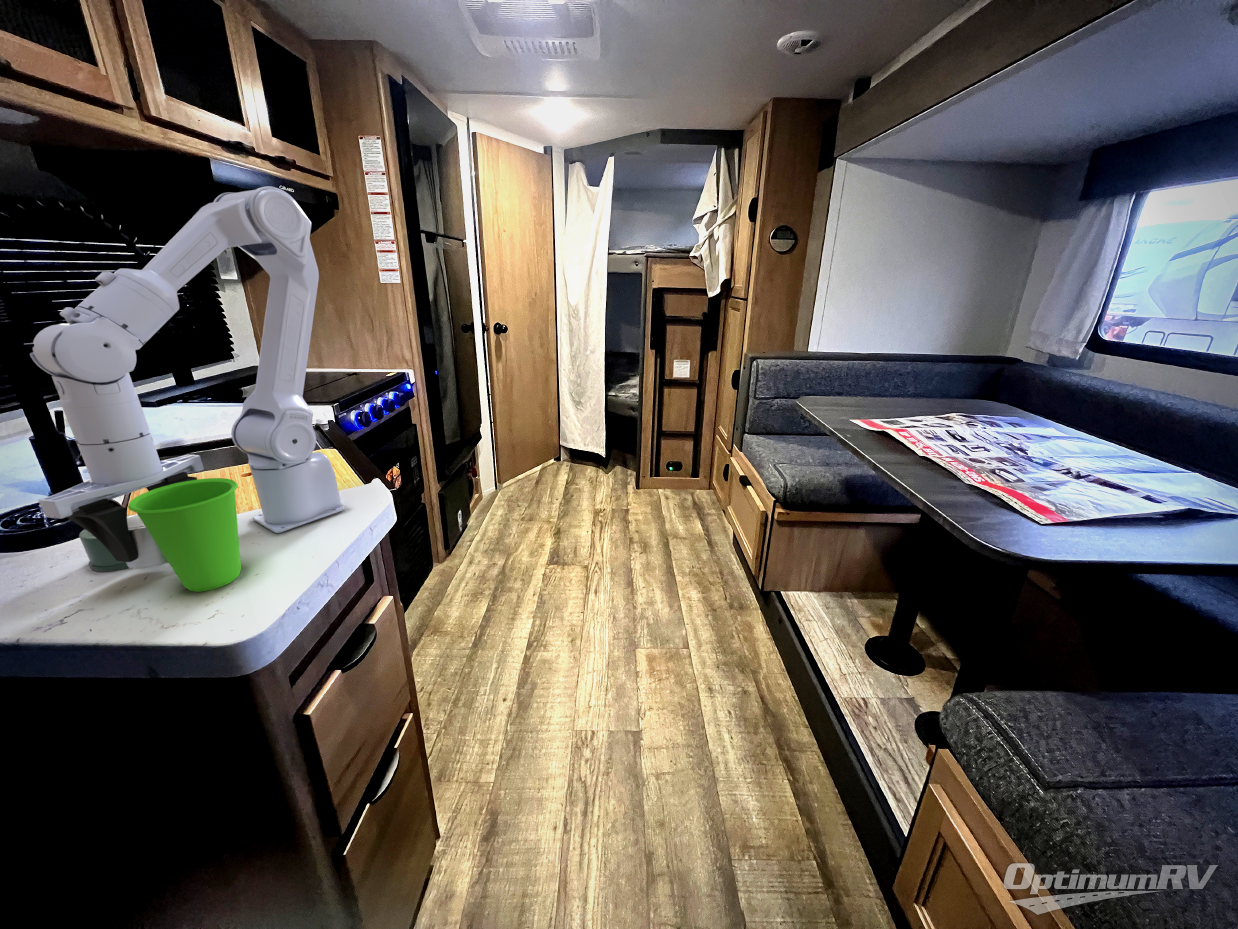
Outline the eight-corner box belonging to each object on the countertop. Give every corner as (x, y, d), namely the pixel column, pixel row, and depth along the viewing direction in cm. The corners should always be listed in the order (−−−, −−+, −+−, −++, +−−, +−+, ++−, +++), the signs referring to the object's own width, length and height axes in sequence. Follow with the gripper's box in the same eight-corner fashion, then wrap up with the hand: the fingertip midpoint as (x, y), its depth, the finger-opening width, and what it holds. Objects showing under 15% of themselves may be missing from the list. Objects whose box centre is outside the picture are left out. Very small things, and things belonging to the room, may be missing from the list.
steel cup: (179, 541, 61) (167, 505, 59) (194, 553, 58) (182, 516, 56) (121, 560, 56) (105, 521, 55) (134, 574, 54) (119, 534, 52)
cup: (207, 607, 50) (174, 514, 47) (139, 597, 52) (103, 506, 48) (280, 563, 59) (257, 481, 55) (219, 555, 60) (193, 475, 57)
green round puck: (157, 538, 65) (146, 508, 63) (175, 553, 61) (163, 521, 60) (83, 560, 59) (70, 528, 58) (98, 578, 56) (83, 544, 54)
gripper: (156, 419, 59) (189, 517, 64) (-6, 456, 46) (50, 576, 51) (203, 422, 58) (233, 521, 63) (51, 460, 45) (104, 583, 49)
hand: (155, 546), depth 57 cm, fingers closed on steel cup, 5 cm apart
